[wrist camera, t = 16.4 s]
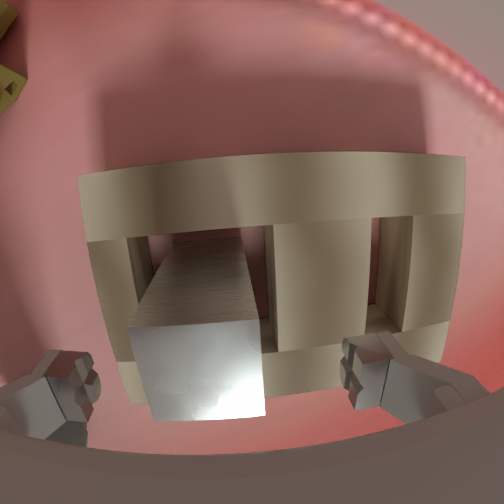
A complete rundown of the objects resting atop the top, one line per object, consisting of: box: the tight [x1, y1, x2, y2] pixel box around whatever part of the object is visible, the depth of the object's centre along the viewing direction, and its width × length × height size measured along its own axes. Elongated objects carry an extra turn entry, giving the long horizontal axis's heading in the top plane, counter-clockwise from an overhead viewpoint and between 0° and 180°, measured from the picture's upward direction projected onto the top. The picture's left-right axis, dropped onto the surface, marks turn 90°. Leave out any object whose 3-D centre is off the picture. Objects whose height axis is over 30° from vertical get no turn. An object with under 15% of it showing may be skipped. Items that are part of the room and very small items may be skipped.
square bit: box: [127, 237, 265, 421], centre depth 15 cm, size 4×4×10 cm
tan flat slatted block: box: [78, 152, 466, 404], centre depth 18 cm, size 20×13×4 cm, turn 94°
